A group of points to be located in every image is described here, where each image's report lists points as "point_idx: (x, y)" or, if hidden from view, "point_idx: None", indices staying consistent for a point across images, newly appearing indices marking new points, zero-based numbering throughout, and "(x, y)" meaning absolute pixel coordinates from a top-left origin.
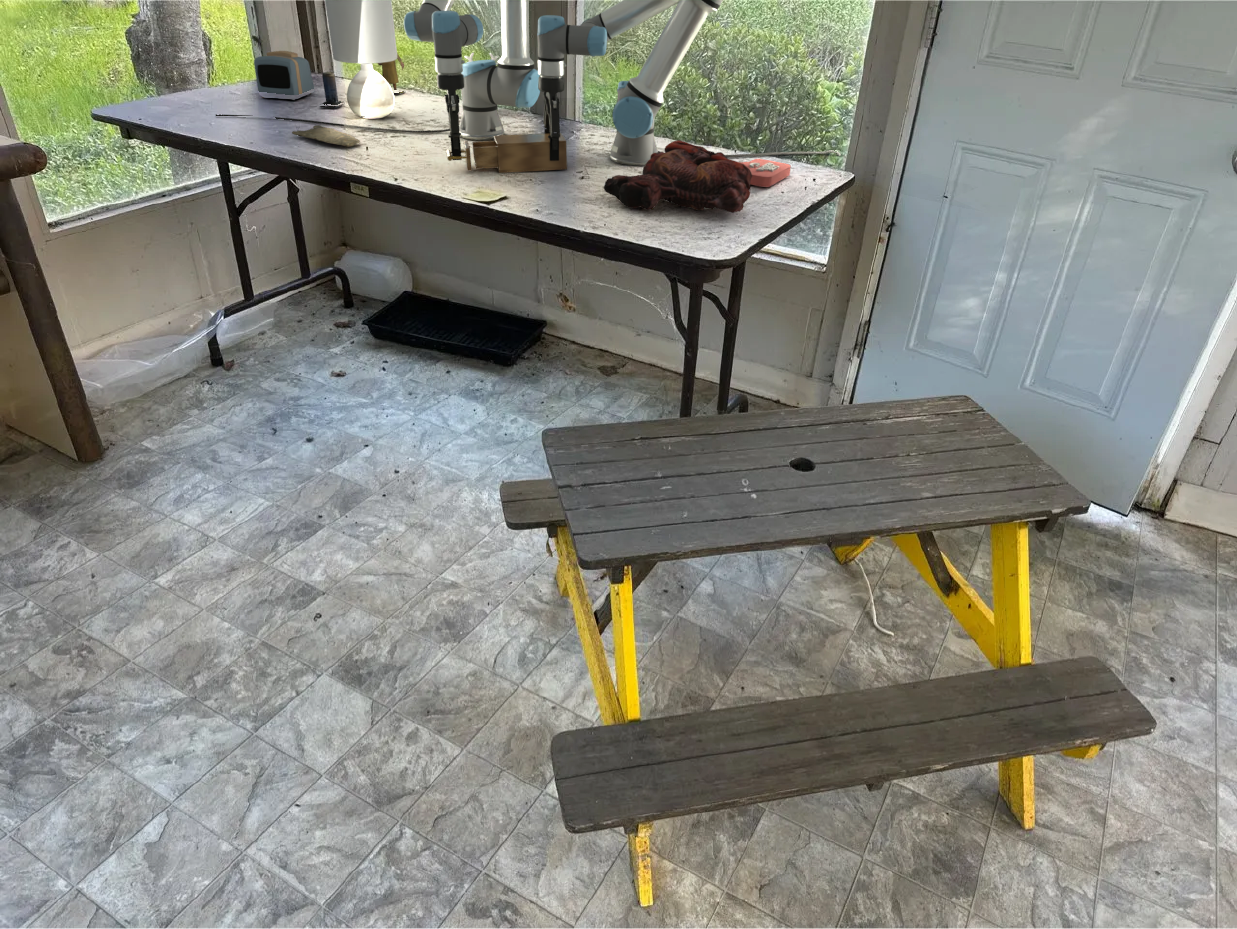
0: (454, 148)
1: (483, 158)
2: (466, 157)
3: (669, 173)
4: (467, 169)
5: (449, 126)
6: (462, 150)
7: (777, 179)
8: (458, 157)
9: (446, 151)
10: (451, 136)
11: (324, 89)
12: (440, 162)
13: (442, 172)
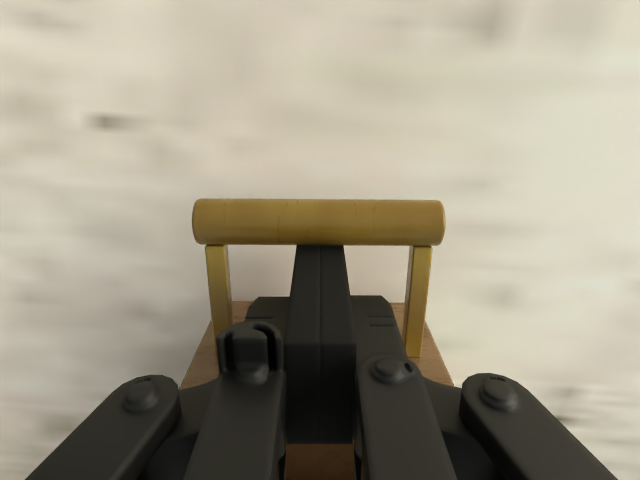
0: (255, 305)
1: None
2: (195, 354)
3: None
4: (232, 303)
5: (548, 427)
6: (415, 341)
7: None
8: (210, 295)
9: (409, 207)
10: (133, 379)
11: None
12: (537, 124)
13: (249, 125)
